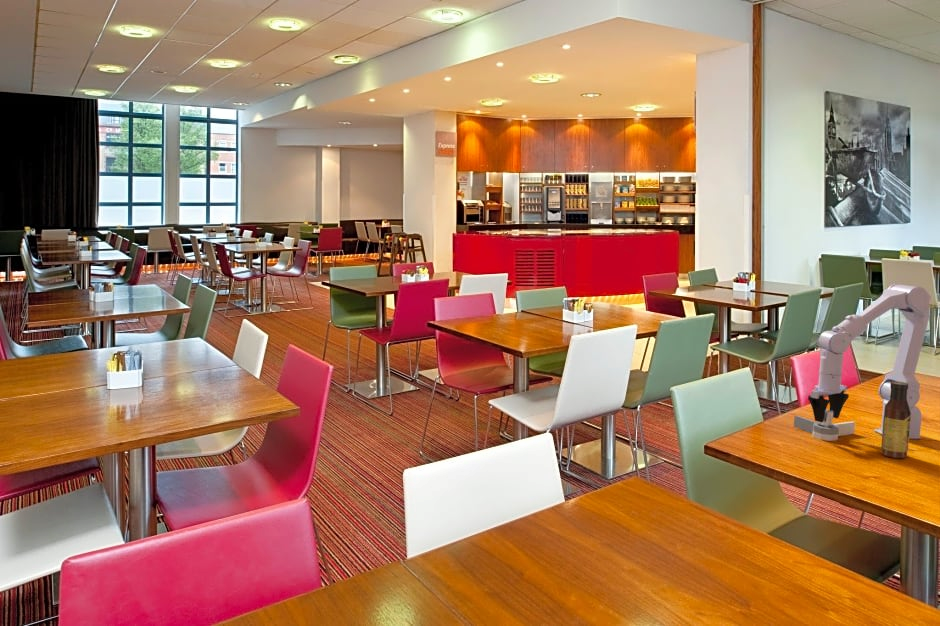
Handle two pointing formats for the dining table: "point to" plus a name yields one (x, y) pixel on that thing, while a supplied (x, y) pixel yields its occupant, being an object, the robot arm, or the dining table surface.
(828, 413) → the hinge pin
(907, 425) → the sauce bottle
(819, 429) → the hinge
